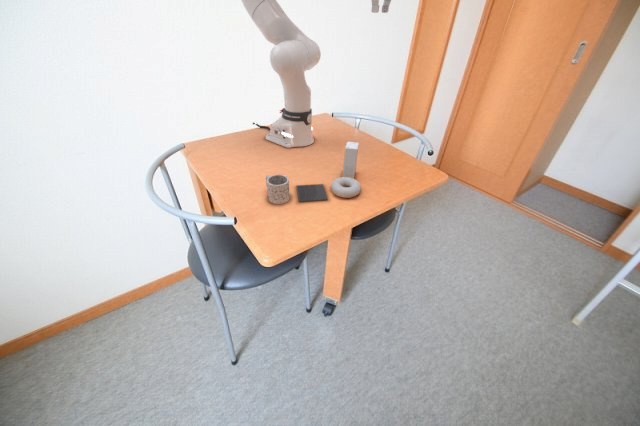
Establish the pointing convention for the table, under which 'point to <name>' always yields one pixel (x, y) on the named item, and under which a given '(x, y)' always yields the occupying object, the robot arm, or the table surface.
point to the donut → (345, 187)
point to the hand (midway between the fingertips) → (380, 12)
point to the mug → (278, 188)
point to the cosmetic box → (350, 159)
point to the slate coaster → (311, 193)
